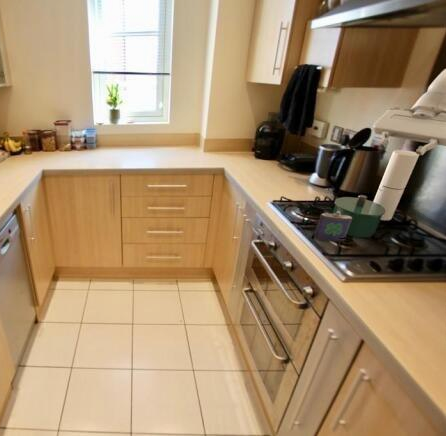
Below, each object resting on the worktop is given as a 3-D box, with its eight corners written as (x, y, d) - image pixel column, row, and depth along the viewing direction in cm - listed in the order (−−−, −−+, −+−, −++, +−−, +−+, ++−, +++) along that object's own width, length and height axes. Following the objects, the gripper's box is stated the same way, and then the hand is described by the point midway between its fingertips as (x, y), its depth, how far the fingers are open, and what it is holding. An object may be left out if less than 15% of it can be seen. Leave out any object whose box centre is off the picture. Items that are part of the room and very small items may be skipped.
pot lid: (393, 211, 108) (398, 199, 106) (369, 221, 102) (374, 208, 100) (349, 196, 120) (353, 185, 117) (325, 205, 114) (329, 193, 112)
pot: (386, 229, 113) (395, 208, 109) (355, 243, 105) (364, 221, 101) (347, 214, 124) (354, 194, 120) (316, 226, 116) (323, 205, 112)
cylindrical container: (382, 221, 118) (409, 156, 107) (364, 213, 124) (388, 151, 113) (396, 218, 120) (424, 154, 108) (377, 210, 126) (402, 149, 115)
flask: (342, 238, 108) (352, 210, 103) (345, 242, 106) (356, 214, 101) (312, 235, 110) (321, 208, 105) (315, 239, 108) (324, 211, 103)
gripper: (388, 100, 98) (359, 135, 99) (478, 108, 82) (443, 151, 82) (390, 113, 102) (363, 147, 102) (476, 124, 86) (443, 164, 86)
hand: (399, 149), depth 92 cm, fingers open, 8 cm apart
